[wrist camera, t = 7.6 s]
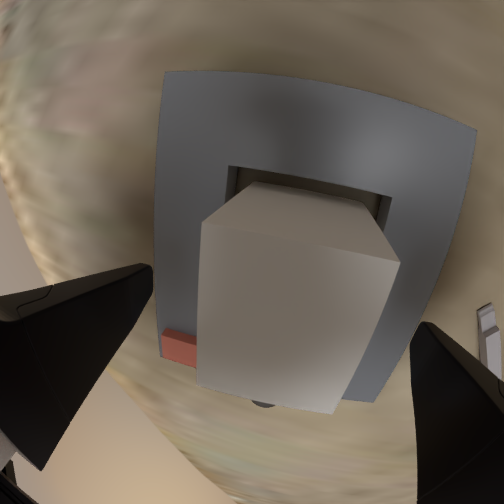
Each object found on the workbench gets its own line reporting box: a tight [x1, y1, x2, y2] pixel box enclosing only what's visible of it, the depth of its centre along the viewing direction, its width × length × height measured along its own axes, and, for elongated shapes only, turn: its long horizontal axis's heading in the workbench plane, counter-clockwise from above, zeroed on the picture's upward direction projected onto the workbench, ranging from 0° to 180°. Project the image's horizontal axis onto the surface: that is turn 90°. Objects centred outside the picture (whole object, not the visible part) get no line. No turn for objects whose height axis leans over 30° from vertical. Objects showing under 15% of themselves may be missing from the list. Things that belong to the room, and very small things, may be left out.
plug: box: [196, 181, 401, 414], centre depth 10 cm, size 4×7×6 cm, turn 173°
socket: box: [154, 71, 477, 402], centre depth 12 cm, size 12×14×2 cm
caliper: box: [477, 303, 501, 379], centre depth 11 cm, size 20×1×6 cm, turn 30°
